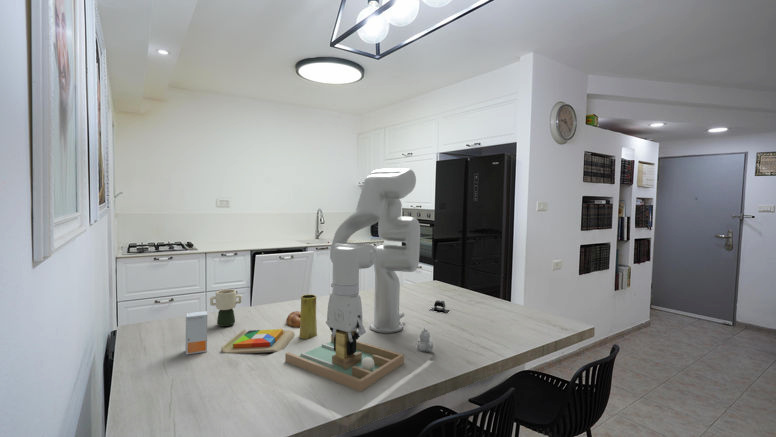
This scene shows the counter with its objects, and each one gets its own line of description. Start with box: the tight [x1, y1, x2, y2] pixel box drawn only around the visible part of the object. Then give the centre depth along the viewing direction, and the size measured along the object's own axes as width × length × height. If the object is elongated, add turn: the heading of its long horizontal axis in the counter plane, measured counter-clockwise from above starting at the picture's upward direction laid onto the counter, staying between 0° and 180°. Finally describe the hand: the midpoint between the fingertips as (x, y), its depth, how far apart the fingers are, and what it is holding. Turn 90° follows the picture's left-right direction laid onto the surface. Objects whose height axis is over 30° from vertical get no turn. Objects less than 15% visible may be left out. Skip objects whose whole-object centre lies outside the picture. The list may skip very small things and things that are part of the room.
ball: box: [361, 357, 374, 371], centre depth 101 cm, size 4×4×4 cm
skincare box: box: [185, 310, 208, 356], centre depth 114 cm, size 6×4×12 cm
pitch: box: [284, 333, 405, 393], centre depth 106 cm, size 20×28×4 cm
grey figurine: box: [416, 327, 434, 354], centre depth 117 cm, size 5×7×8 cm
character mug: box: [209, 288, 243, 327], centre depth 138 cm, size 11×7×13 cm, turn 113°
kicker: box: [332, 330, 362, 370], centre depth 105 cm, size 7×6×9 cm
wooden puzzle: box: [221, 328, 295, 355], centre depth 122 cm, size 18×19×4 cm
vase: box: [299, 293, 318, 340], centre depth 129 cm, size 6×6×14 cm
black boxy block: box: [428, 299, 451, 314], centre depth 162 cm, size 12×7×5 cm, turn 65°
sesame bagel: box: [286, 310, 301, 328], centre depth 143 cm, size 12×11×4 cm
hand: (344, 350), depth 106 cm, fingers open, 4 cm apart
